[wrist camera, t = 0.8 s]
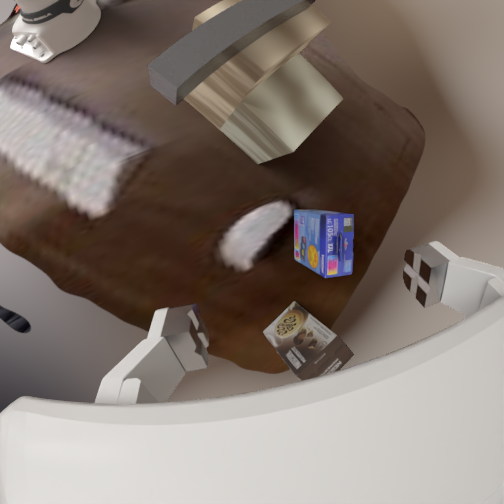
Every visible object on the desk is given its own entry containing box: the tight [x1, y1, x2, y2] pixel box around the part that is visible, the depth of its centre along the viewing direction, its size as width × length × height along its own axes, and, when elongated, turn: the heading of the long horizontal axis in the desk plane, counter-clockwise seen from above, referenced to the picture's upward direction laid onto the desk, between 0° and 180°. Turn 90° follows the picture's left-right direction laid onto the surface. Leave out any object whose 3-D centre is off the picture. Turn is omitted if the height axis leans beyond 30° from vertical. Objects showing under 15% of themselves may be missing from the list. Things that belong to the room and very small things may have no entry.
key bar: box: [148, 0, 316, 106], centre depth 17 cm, size 19×3×4 cm, turn 138°
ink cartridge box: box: [294, 210, 354, 278], centre depth 44 cm, size 10×6×14 cm, turn 3°
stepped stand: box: [184, 0, 343, 164], centre depth 32 cm, size 12×18×24 cm, turn 48°
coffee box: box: [263, 301, 354, 381], centre depth 46 cm, size 9×6×16 cm
